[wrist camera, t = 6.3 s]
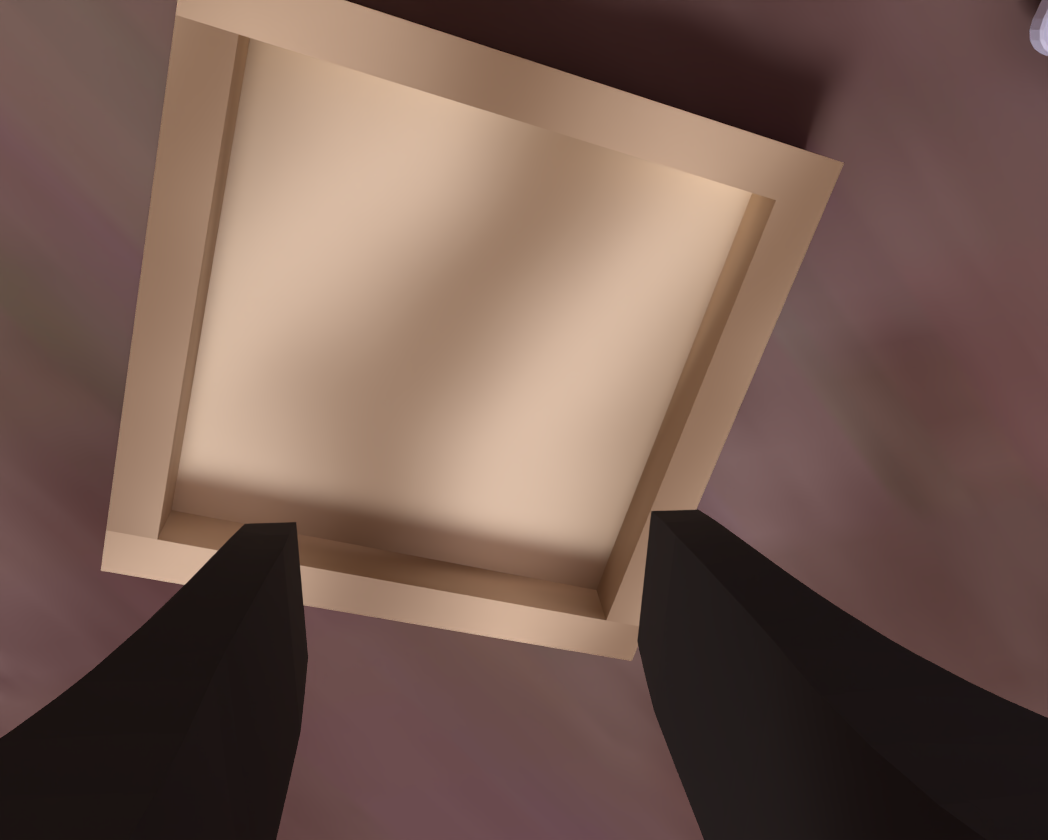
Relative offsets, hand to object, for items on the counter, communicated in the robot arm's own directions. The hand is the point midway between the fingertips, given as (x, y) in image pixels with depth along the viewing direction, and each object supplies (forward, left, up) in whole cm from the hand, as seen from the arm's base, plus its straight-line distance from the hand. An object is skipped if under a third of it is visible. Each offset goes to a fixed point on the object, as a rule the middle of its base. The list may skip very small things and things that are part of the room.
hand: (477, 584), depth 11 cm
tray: (0, 0, -9) cm, 9 cm away
